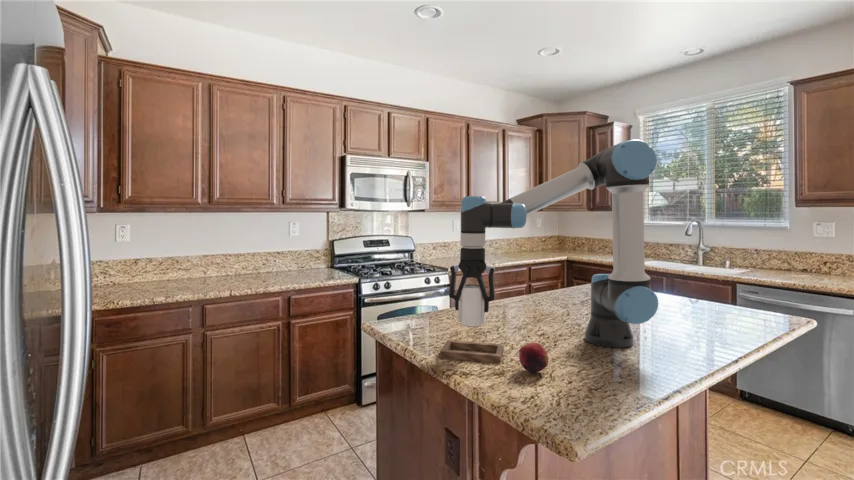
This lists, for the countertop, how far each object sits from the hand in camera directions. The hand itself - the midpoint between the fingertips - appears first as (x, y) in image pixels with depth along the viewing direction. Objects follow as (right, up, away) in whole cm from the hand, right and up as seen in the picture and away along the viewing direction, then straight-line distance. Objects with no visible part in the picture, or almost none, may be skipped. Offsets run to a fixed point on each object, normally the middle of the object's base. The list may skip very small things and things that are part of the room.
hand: (471, 321), depth 126 cm
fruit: (+15, -11, -14) cm, 24 cm away
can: (0, -1, 0) cm, 1 cm away
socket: (0, -10, +1) cm, 10 cm away
